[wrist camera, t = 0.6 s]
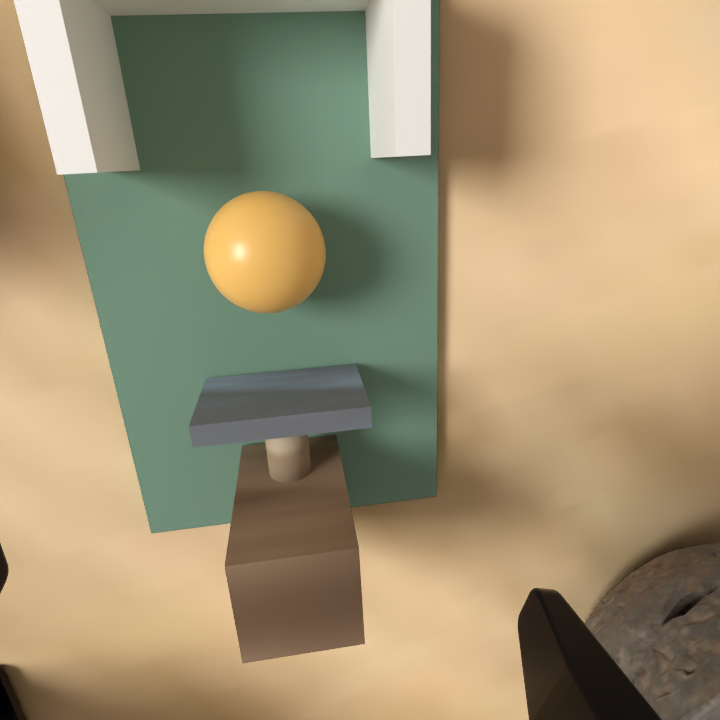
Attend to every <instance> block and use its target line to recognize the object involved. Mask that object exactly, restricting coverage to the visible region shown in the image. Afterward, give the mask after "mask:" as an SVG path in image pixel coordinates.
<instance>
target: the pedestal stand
mask: <svg viewBox="0 0 720 720" xmlns="http://www.w3.org/2000/svg"><path fill="white" fill-rule="evenodd" d="M364 428H372V415H371V405H370V402H369V400H368V397H367V394H366V391H365V388H364V386H363V383H362V380H361V377H360V375H359V372H358V369H357V366H356V364H348V365H338V366H328V367H317V368H307V369H297V370H287V371H277V372H267V373H256V374H246V375H236V376H226V377H216V378H206V379H205V382H204V385H203V387H202V390H201V393H200V396H199V399H198V401H197V404H196V407H195V410H194V413H193V416H192V418H191V421H190V424H189V431H190V436H191V441H192V447H193V448H196V447H205V446H214V445H223V444H231V443H240V442H249V441H258V440H265V443H261V444H252V445H244V446H242V450H241V457H240V464H239V471H238V478H237V484H236V491H235V498H234V505H233V512H232V519H231V526H230V533H229V540H228V547H227V554H226V561H225V571H226V576H227V582H228V587H229V592H230V598H231V603H232V608H233V614H234V619H235V625H236V630H237V635H238V641H239V646H240V651H241V657H242V662H243V663H248V662H254V661H260V660H267V659H273V658H279V657H285V656H291V655H298V654H304V653H310V652H316V651H323V650H329V649H335V648H341V647H348V646H354V645H360V644H365V639H364V623H363V608H362V592H361V576H360V560H359V547H358V542H357V537H356V532H355V527H354V521H353V516H352V511H351V506H350V501H349V496H348V491H347V486H346V481H345V476H344V471H343V466H342V461H341V456H340V451H339V445H338V440H337V435H332V436H323V437H314V438H308V435H311V434H320V433H329V432H338V431H347V430H355V429H364Z"/></svg>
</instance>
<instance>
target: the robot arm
mask: <svg viewBox="0 0 720 720" xmlns="http://www.w3.org/2000/svg"><path fill="white" fill-rule="evenodd" d="M7 576H8V564H7V561H6V558H5V555H4V552H3V549H2V547H1V544H0V593H1V591H2V589H3V587H4V584H5V582H6V580H7ZM518 634H519V642H520V650H521V658H522V666H523V675H524V683H525V691H526V699H527V707H528V714H529V720H662V719H661V718H660V716H659V715H658V714H657V713H656V711H655V710H654V709H653V708H652V707H651V705H650V704H649V703H648V702H647V700H646V699H645V698H644V697H643V695H642V694H641V693H640V692H639V690H638V689H637V688H636V687H635V686H634V684H633V683H632V682H631V681H630V679H629V678H628V677H627V676H626V674H625V673H624V672H623V671H622V669H621V668H620V667H619V666H618V665H617V663H616V662H615V661H614V660H613V658H612V657H611V656H610V655H609V653H608V652H607V651H606V650H605V648H604V647H603V646H602V645H601V644H600V642H599V641H598V640H597V639H596V637H595V636H594V635H593V634H592V632H591V631H590V630H589V629H588V627H587V626H586V625H585V624H584V623H583V621H582V620H581V619H580V618H579V616H578V615H577V614H576V613H575V611H574V610H573V609H572V608H571V606H570V605H569V604H568V603H567V601H566V600H565V599H564V598H563V597H562V595H561V594H560V593H558V592H557V591H555V590H552V589H542V588H534V589H533V590H531V592H530V593H529V595H528V598H527V600H526V602H525V604H524V606H523V608H522V610H521V612H520V614H519V618H518ZM0 720H26V719H25V717H24V714H23V712H22V710H21V707H20V705H19V703H18V700H17V698H16V696H15V693H14V691H13V689H12V686H11V684H10V682H9V679H8V677H7V675H6V673H5V671H4V670H2V669H0Z"/></svg>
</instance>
